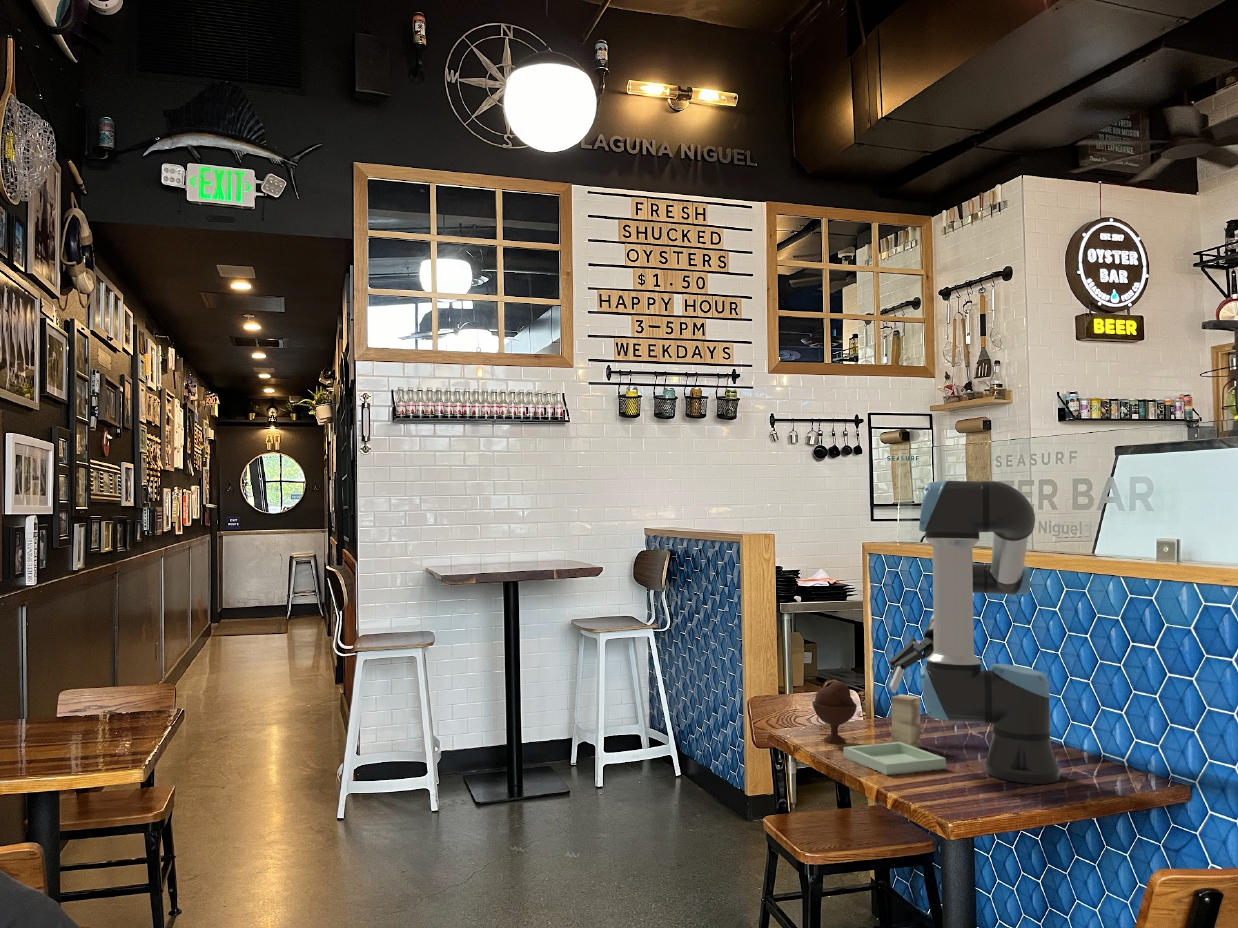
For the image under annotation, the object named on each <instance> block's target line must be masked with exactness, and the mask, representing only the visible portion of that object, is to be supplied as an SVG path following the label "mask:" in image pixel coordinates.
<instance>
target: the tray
mask: <svg viewBox="0 0 1238 928" xmlns="http://www.w3.org/2000/svg"><path fill="white" fill-rule="evenodd" d="M843 759H846V760H848V761H850V762H853V763H856V764H858V765H860V766H862V765H863V766H862V767H864V768H867V767H869V768H872V769H874V770H877V771H878V772H877V773H879V772H881V773H882V775H883V774H885V775H884V776H886V775H890V776H897V775H896V774H899V775H905V774H915V772H917V773H923V772H924V773H925V771H926V772H932V771H931V770H935V771H941V770H942V769H944V770H946V769H947V760H946V757H943V756H940V755H938V754H934V753H932V752H929V751H926V750H923V749H921V748H919V747H918V748H916V747H913V746H910V745H907V744H905V743H902V742H892V741H891V742H885V743H882V742H881V743H874V744H873V743H871V744H864V745H852V746H850V745H849V746H844V747H843ZM869 768H868V769H869ZM872 769H871V770H872ZM874 770H873V771H874ZM942 771H943V770H942ZM881 773H880V774H881Z"/></svg>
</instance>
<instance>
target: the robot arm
mask: <svg viewBox="0 0 1238 928" xmlns="http://www.w3.org/2000/svg"><path fill="white" fill-rule="evenodd" d="M921 498H922V499H921V500H922V501H921V508H920V513H919V514H920V515H919V526H918V530H919V531H920V532H922V533H925V541H927V542H928V543H929V545H931V547H932V596H933V597H932V605H933V606H932V609H933V611H932V615H931V617H930V620H929V623H928V624H927V626H926V630H925V632H924V636H923V639H921V640H919V639H918V640H917V639H916V638H915V637H911V638H910V639H909V641H908V643H907V644H906V645H905V646H904V647H903V648H902V649H900V650H899V651H898V653H896V654H895V655H894V656H893V657H891V659H890V660H889V661H888V662H889V665H890V667H891V668H892V669H893V670H892V672H891V674H890V677H891V681H890V683H889V688H890V690H891V692H892V693H893V694H896V693H897V692H898V689H899V686H900V685H901V681H902V680H903V676H904V674H905V673H904V670H906V669H907V668H909V667H911V666H912V665H914V664H915V663H917V662H918V661H920V660H924V659H926V665H923V666H921V667H920V669H919V670H920V671H919V672H920V678H921V679H920V680H921V688H922V695H923V702H924V706H925V711H926V714H927V715H928V717H929V718H932V719H933V720H940V721H941V720H942V721H946V722H964V723H974V724H975V723H976V724H989V725H992V738H991V741H990V744H989V747H988V753H987V756H985V759H984V772H985V773H986V774H987V775H990V776H991V777H994V778H997V779H1000V780H1004V781H1008V782H1014V783H1015V782H1016V783H1021V784H1022V783H1023V784H1032V785H1033V784H1034V785H1037V784H1039V785H1041V784H1042V785H1045V784H1053V783H1056V782H1058V781H1059V780H1060V779H1061V772H1060V770H1061V769H1060V766H1059V764H1058V763H1057V759H1056V755H1055V752H1054V748H1053V746H1052V743H1051V720H1050V719H1051V718H1050V717H1051V715H1050V698H1051V694H1050V682H1049V679H1048V677H1047V676H1046V674H1044V673H1043V672H1041V671H1038V670H1035V669H1032V668H1028V667H1024V666H1019V665H1014V664H1008V663H993V664H992V665H991V667H990V670H989V669H987V670H986V669H985V670H984V669H982V661H981V660H980V659H979V658H978V657H977V656H976V654H975V652H974V651H975V650H974V642H975V641H974V639H975V638H974V594H996V595H997V594H998V595H1011V596H1016V595H1027V594H1029V593H1030V590H1031V571H1030V568H1029V567H1028V566H1027V565H1025V559H1026V553H1027V546H1028V544H1027V543H1028V538H1029V537H1030V536H1031V534H1032V533H1033V531H1034V529H1035V525H1036V514H1035V510H1034V508H1033V506H1032V504H1031V503H1030V501H1029V499H1028V498H1027V497H1026V496H1025V495H1024V494H1023V493H1022V492H1020V491H1019V490H1018V489H1017V488H1015V487H1013V486H1012V485H1009V484H1007V483H1005V482H1001V481H995V480H985V481H984V480H981V481H978V480H976V481H975V480H973V481H971V480H964V481H963V480H942V481H929V482H928V483H927V484H925V486H924V488H923V494H922V497H921ZM980 533H993V538H992V548H991V549H992V553H991V562H990V563H991V564H984V563H983V564H977V563H976V564H974V563H973V548H974V546H975V545H977V543H978V542H979V541H980ZM922 652H923V653H922Z"/></svg>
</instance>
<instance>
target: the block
mask: <svg viewBox="0 0 1238 928" xmlns="http://www.w3.org/2000/svg"><path fill="white" fill-rule="evenodd" d="M890 698H891V699H890V700H891V743H892V742H902V743H905V744H907V745H910V746H913V747H916V748H918V749H919V748H920V747H921V697H920V696H914V695H907V694H903V693H902V694H898V695H893V696H891V697H890Z"/></svg>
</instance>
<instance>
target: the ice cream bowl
mask: <svg viewBox="0 0 1238 928" xmlns="http://www.w3.org/2000/svg"><path fill="white" fill-rule="evenodd" d="M811 704H812V708H813V709H814V712H815V714H816V716H817V717H818V718H819V719H820V720H821V721H822V722H824V723H825V724H827V725H829V726H830V734H829V735H827V736H824V737H823V742H824V743H827V744H831V745H842V744H841V743H843V744H846V743H845V742H846V739H845V738H843V737H842V736H841V735H839V727H840V726H841V725H843V724H845V723H847V722H849V721H850V720H851V719H852V718H853V717H854V716H855V714H856V712H857V707H858V704H856V702H854V699H853V698H852V697H851V690H850V688H849V686H848V685H847V684H846V683H844V682H843V681H833V682H831V683H830V684H829V685H828V686H825V687H824V686H823V687H822V688H820V689H819V690H818V691H817V692H816V694H815V697H814V700H812V701H811ZM839 743H840V744H839Z"/></svg>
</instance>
